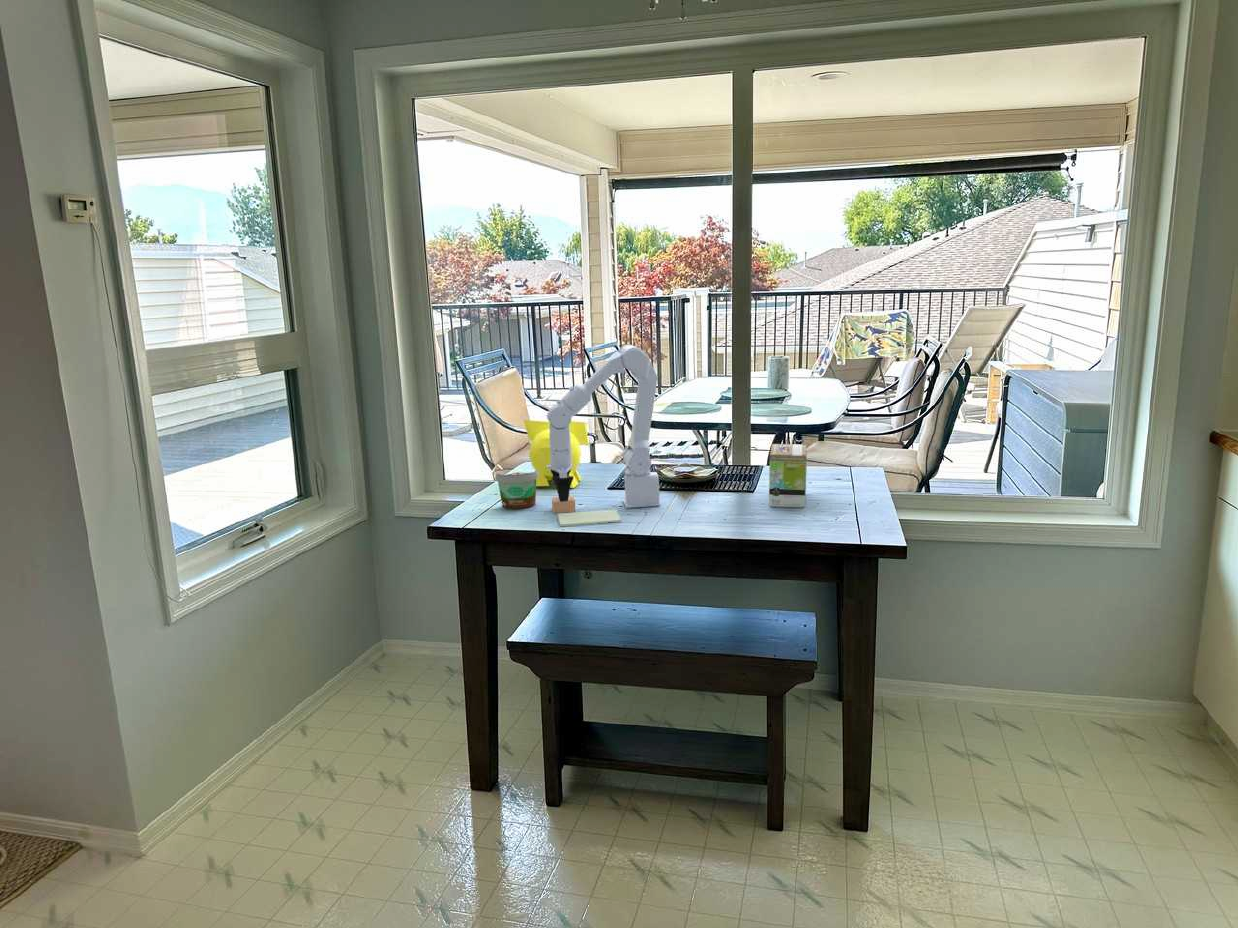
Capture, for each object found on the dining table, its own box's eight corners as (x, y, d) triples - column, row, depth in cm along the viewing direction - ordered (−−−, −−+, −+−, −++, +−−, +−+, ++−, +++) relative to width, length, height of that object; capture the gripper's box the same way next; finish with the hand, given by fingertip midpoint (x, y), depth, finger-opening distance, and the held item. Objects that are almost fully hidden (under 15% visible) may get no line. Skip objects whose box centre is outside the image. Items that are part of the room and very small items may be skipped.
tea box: (806, 508, 235) (806, 454, 232) (768, 507, 238) (768, 454, 234) (806, 493, 250) (806, 442, 246) (770, 493, 252) (770, 442, 248)
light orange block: (573, 508, 245) (573, 495, 244) (575, 512, 240) (574, 500, 240) (552, 509, 244) (551, 497, 243) (553, 514, 239) (553, 501, 239)
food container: (498, 512, 242) (496, 477, 240) (497, 506, 248) (494, 472, 246) (542, 508, 245) (540, 473, 242) (540, 502, 250) (538, 468, 248)
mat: (616, 511, 239) (616, 509, 239) (621, 521, 229) (621, 519, 229) (557, 515, 237) (557, 513, 237) (560, 526, 227) (560, 524, 227)
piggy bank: (592, 474, 281) (589, 415, 277) (583, 490, 262) (580, 427, 258) (531, 475, 284) (527, 416, 279) (518, 490, 265) (514, 428, 260)
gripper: (544, 444, 245) (546, 491, 248) (547, 455, 231) (549, 505, 234) (569, 443, 245) (571, 490, 249) (573, 454, 231) (576, 503, 235)
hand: (562, 497), depth 241 cm, fingers open, 7 cm apart
